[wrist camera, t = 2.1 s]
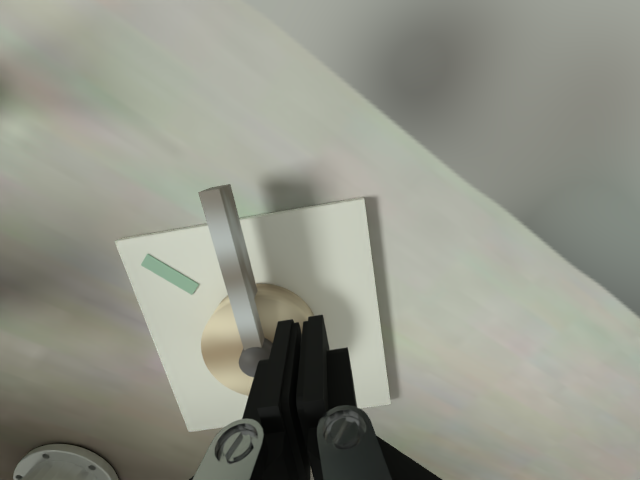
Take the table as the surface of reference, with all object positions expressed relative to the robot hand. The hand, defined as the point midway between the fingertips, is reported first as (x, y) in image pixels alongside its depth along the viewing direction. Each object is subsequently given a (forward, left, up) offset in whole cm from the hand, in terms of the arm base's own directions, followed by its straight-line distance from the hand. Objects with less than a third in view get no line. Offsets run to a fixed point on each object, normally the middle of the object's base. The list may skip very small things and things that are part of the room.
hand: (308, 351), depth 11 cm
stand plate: (-10, +7, -19) cm, 23 cm away
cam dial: (-5, +7, -18) cm, 20 cm away
